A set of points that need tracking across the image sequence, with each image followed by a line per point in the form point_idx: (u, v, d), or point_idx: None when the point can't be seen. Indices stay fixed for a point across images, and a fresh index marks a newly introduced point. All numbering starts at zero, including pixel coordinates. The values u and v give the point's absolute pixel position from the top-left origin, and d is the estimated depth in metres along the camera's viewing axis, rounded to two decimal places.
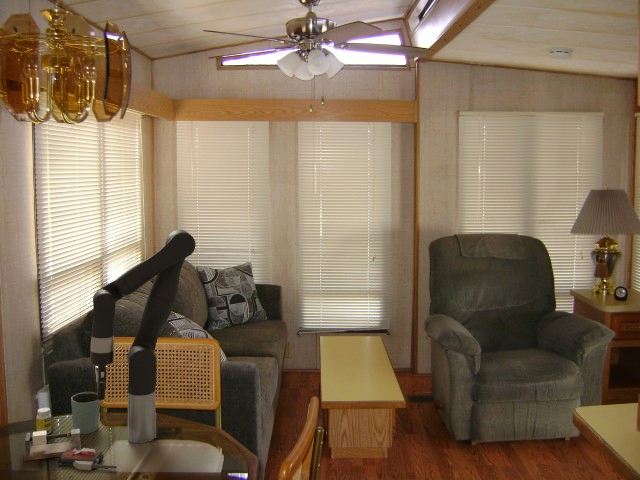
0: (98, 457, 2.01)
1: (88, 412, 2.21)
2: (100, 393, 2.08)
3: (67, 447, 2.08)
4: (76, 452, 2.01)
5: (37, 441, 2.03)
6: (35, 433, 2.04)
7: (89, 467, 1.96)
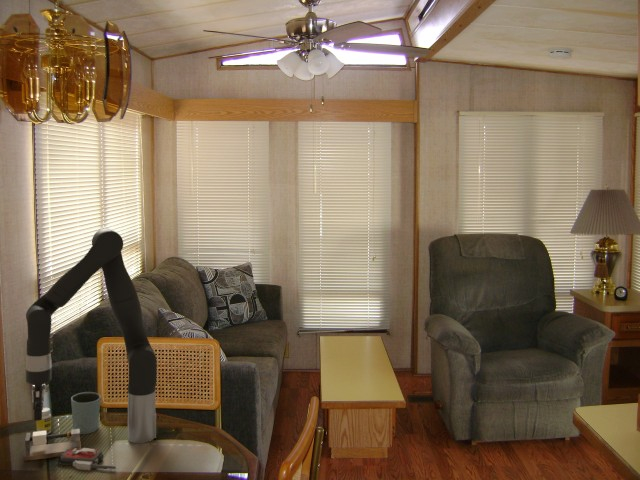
0: (98, 457, 2.01)
1: (88, 412, 2.21)
2: (36, 413, 1.99)
3: (67, 447, 2.08)
4: (76, 452, 2.02)
5: (37, 441, 2.03)
6: (35, 433, 2.04)
7: (88, 467, 1.96)
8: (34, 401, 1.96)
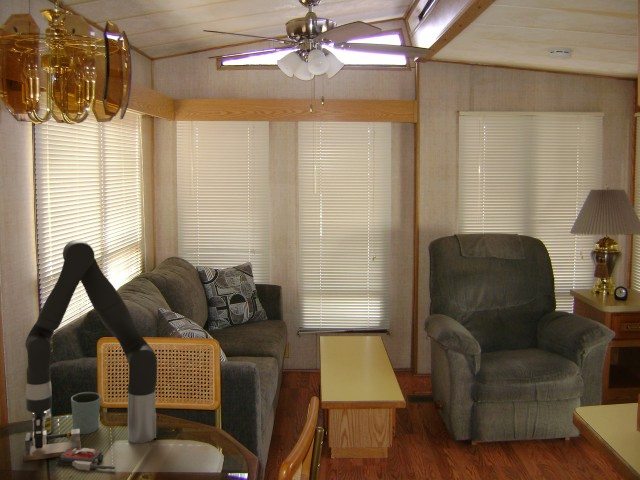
0: (97, 457, 2.01)
1: (88, 412, 2.21)
2: (37, 441, 2.00)
3: (67, 447, 2.08)
4: (76, 452, 2.02)
5: None
6: None
7: (87, 467, 1.96)
8: (35, 429, 1.97)
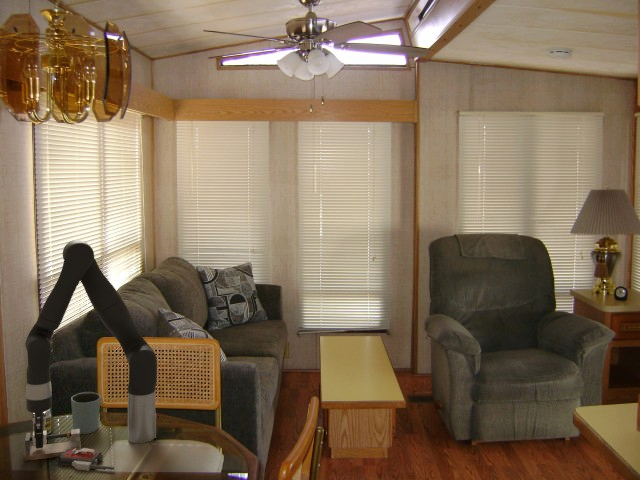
0: (97, 457, 2.01)
1: (88, 412, 2.21)
2: (38, 442, 2.02)
3: (67, 447, 2.08)
4: (75, 452, 2.01)
5: None
6: None
7: (87, 467, 1.96)
8: (35, 432, 1.99)
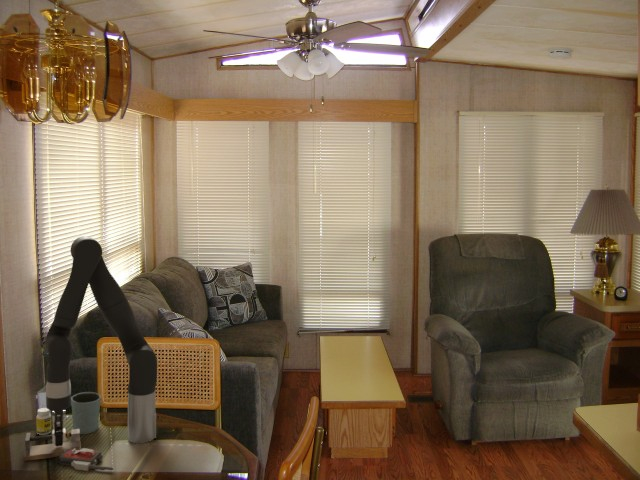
0: (96, 458, 2.01)
1: (88, 412, 2.21)
2: (57, 439, 2.04)
3: (67, 447, 2.08)
4: (75, 452, 2.01)
5: None
6: (54, 431, 2.07)
7: (86, 468, 1.96)
8: (55, 430, 2.01)
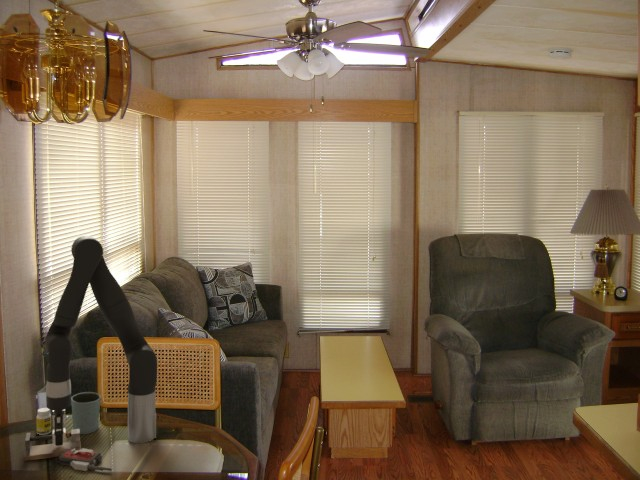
0: (95, 458, 2.01)
1: (88, 412, 2.21)
2: (57, 439, 2.02)
3: (67, 447, 2.08)
4: (75, 452, 2.01)
5: None
6: None
7: (85, 468, 1.96)
8: (55, 427, 1.99)
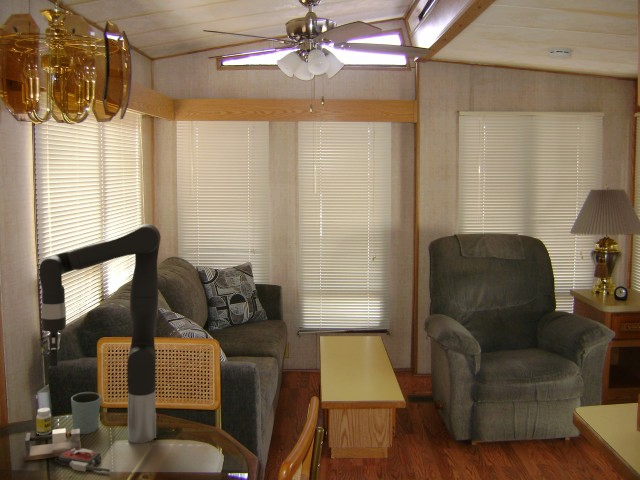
0: (95, 459, 2.00)
1: (88, 412, 2.21)
2: (52, 359, 2.06)
3: (67, 447, 2.08)
4: (74, 452, 2.01)
5: (57, 439, 2.05)
6: (55, 431, 2.07)
7: (83, 468, 1.95)
8: (50, 347, 2.04)
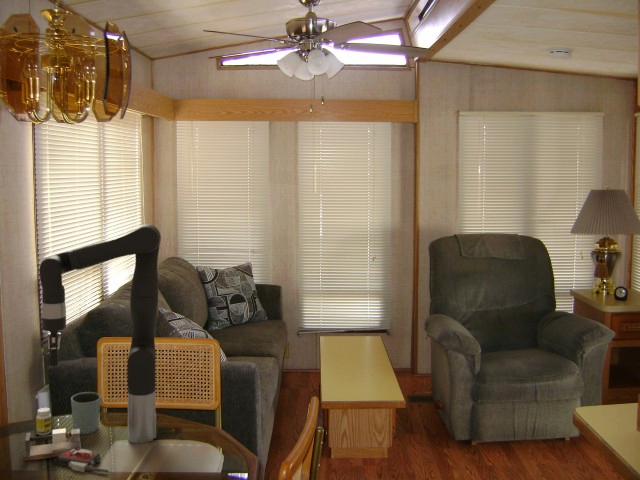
0: (94, 459, 2.00)
1: (88, 412, 2.21)
2: (52, 359, 2.07)
3: (67, 447, 2.08)
4: (74, 452, 2.01)
5: (57, 439, 2.05)
6: (55, 431, 2.07)
7: (82, 469, 1.95)
8: (50, 347, 2.04)
